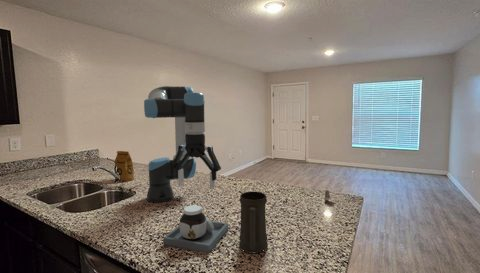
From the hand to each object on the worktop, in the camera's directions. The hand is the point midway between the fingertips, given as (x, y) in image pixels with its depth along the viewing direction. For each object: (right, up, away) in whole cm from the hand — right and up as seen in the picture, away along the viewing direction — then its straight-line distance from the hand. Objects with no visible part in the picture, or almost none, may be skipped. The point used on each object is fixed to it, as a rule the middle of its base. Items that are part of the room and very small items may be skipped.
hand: (196, 186), depth 101 cm
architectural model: (+65, -17, +41) cm, 79 cm away
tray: (0, -21, +2) cm, 21 cm away
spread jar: (0, -20, +2) cm, 20 cm away
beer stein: (+22, -22, -7) cm, 32 cm away
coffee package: (-69, -13, +90) cm, 114 cm away
